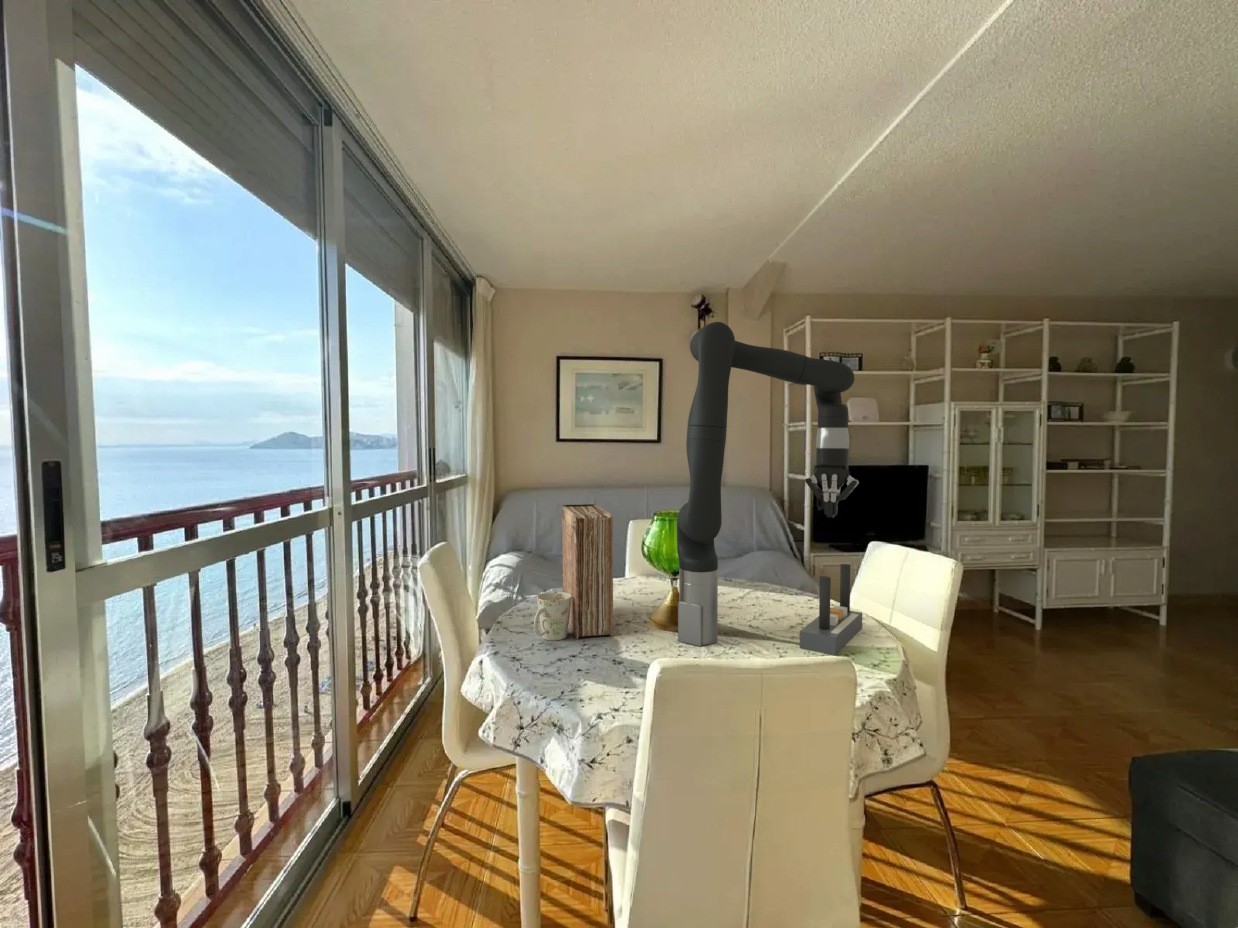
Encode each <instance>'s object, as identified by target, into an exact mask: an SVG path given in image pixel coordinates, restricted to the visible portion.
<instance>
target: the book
mask: <svg viewBox="0 0 1238 928" xmlns="http://www.w3.org/2000/svg"><path fill="white" fill-rule="evenodd" d="M561 541H562V543H561V544H562V546H561V549H562V552H561V553H562V556H561V557H562V561H561V563H562V567H561V568H562V592H564V593H568V594H570V595H571V607H570V615H569V623H568V626H569V627H570V630H571V632H572V634H573V636H574V638H575V640H576V641H578V640H579V638H580V637H593V636H606V635H607V636H608V635H609V636H610V637H614V515H613V514H612V513H611V512H608V511H607V510H605V509H603V508H602V507H600V506H598V505H596V504H594V503H592V504H562V505H561Z"/></svg>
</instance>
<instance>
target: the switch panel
mask: <svg viewBox="0 0 1238 928" xmlns="http://www.w3.org/2000/svg"><path fill="white" fill-rule="evenodd" d="M832 608H834V609H840V610H843V618H842V619H841V620H838V615H835V614H830V629H829V630H822V629H820V628H819V616H818V617H816V618H815V619H814V620H812V621H811V622H809V624H806V626H804V627H802V628H801V630H799V649H803V650H807V651H813V652H817V653H821V654H825V655H826V654H827V655H831V656H836V655H837V654H838V653H839V652H840V651H841V650H842V649H843V648H844V647H845V646H846V645H847V644H848V643H849V642H850V641H851V640H852V639H853V638H854V637H855V636H856V635H857V634H858V633H859V632H860V631H861V630H862V629H863V612H861V611H860V612H859V611H854V610H850V612H848V613H847V607H841V606H840V605H833V606H832Z"/></svg>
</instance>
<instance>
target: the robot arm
mask: <svg viewBox="0 0 1238 928" xmlns="http://www.w3.org/2000/svg"><path fill="white" fill-rule="evenodd" d="M689 350H690V354H691V356H692V357H693V359H694V360H695V361H696V362H698V375H697V376H698V377H697V384H696V389H695V393H694V395H693V399H692V403H691V406H690V410H689V414H688V418H687V427H686V428H687V429H686V445H685V446H686V447H685V448H686V456H687V464H688V470H689V480H690V481H689V482H690V483H689V494H688V499H687V503H685V504H683V505H682V507H681V508H680V509H679V511H678V514H677V518H676V545H677V547H676V548H677V549H676V550H677V557H678V564H679V565H678V567H679V568H678V569H679V571H678V573H679V576H678V577H679V578H678V581H679V583H678V589H679V592H678V602H677V641H678V642H681V643H684V644H690V645H694V646H697V647H701V646H705V645H706V646H707V645H711V644H714V643H716V642H717V641H718V623H719V622H718V620H719V619H718V612H719V611H718V606H719V605H718V603H719V601H718V600H719V599H718V595H719V593H718V592H719V591H718V587H719V586H718V585H719V584H718V583H719V582H718V581H719V578H718V577H719V570H718V569H719V560H718V559H719V558H718V555H717V553H716V548H715V547H716V546H715V538H716V537H718V535H719V532H720V531H721V528H722V518H723V517H722V478H723V470H724V462H725V461H724V460H725V453H726V452H725V451H726V443H727V429H728V428H727V427H728V410H729V409H728V408H729V383H730V376H731V371H732V368H733V369H739V370H744V371H748V372H752V373H756V374H760V375H764V376H768V377H770V378H774V379H777V380H782V381H784V382H787V383H791V384H795V385H799V386H800V385H801V386H806V385H807V386H808V385H809V386H810V385H811V386H813V393H814V398H815V404H816V407H817V431H816V441H815V443H816V444H815V445H816V447H815V469H814V470H813V474H812V475H811V476H810V477H807V478H805V480H804V482H805V483H806V485H807V486H808V487H809V489H810V490H811V492H812V493H813V494H814V495H815V497H816V498H817V499H819V500H820V501H821V500H822V501H823V503H824V506H823V507H824V508H823V509H824V512H823V513H824V515H825V516H826V517H827V518H832V519H833V518H835V517H836V516H837V515H838V511H839V508H838V507H839V502H840V501H843V500H846V499H847V498H848V496H849V495H850V494H851V493H852V492H853V491H854V490H855V489H856V487H857V486H858V485H859V484H860V481H859V479H856V478H855V477H852V476H851V471H850V469H849V452H850V450H849V449H850V437H849V409H848V408H849V407H847V405H846V404H844V403H843V401H842V393H844V392H847V391H848V390H849V389H850V388H852V387H853V384H854V383H855V378H856V377H855V374H854V371H853V369H852V368H851V367H850V366H849V365H847V364H845V363H843V362H839V361H834V360H830V359H822V358H815V357H809V356H808V355H804V354H801V353H798V352H794V351H790V350H786V349H782V348H776V347H775V348H774V347H765V346H760V345H752V344H747V343H744V342H740V341H737V340H736V338H735V335H734V332H733V330H732V329H731V327H730V325H729V326H728V325H727V324H726V323H724V322H722V321H714V322H713V321H712V322H709V323H707V324H706V325H704V326H703V327H701V328H700V329H699V330H697V332H695V334H693V335H692V338H691V340H690V344H689ZM817 483H818V484H820V486H821V487H822V489H821V488H820V487H819V486H818V484H817ZM845 483H846V485H847V486H846V487H845V488H844V490H843V491H842V492H841V488H842V487H843V486H844V484H845Z"/></svg>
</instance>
